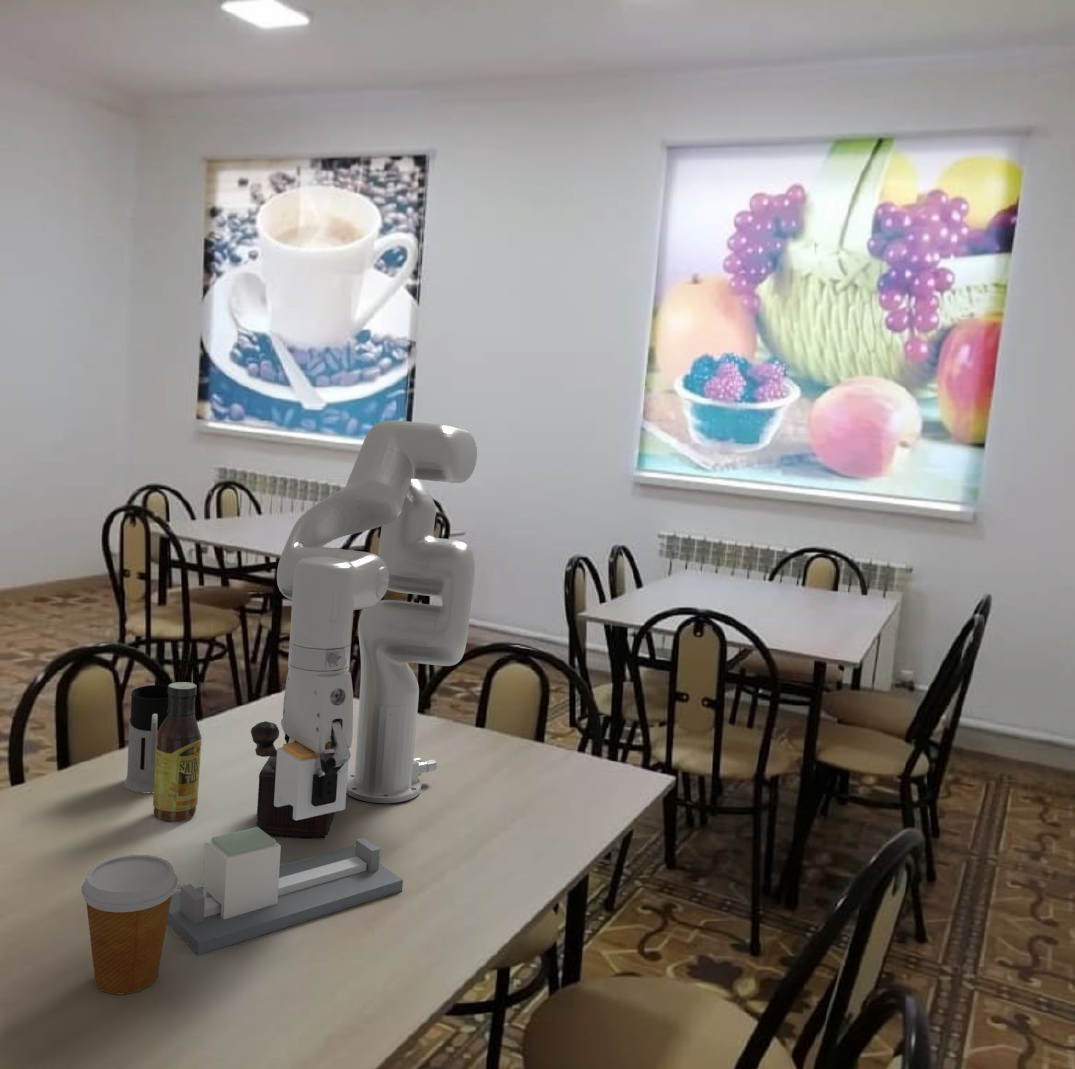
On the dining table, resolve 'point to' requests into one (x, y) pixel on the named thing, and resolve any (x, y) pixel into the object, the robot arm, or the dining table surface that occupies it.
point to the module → (304, 781)
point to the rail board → (287, 904)
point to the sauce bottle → (178, 757)
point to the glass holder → (145, 735)
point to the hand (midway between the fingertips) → (310, 794)
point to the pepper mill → (268, 815)
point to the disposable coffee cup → (128, 919)
